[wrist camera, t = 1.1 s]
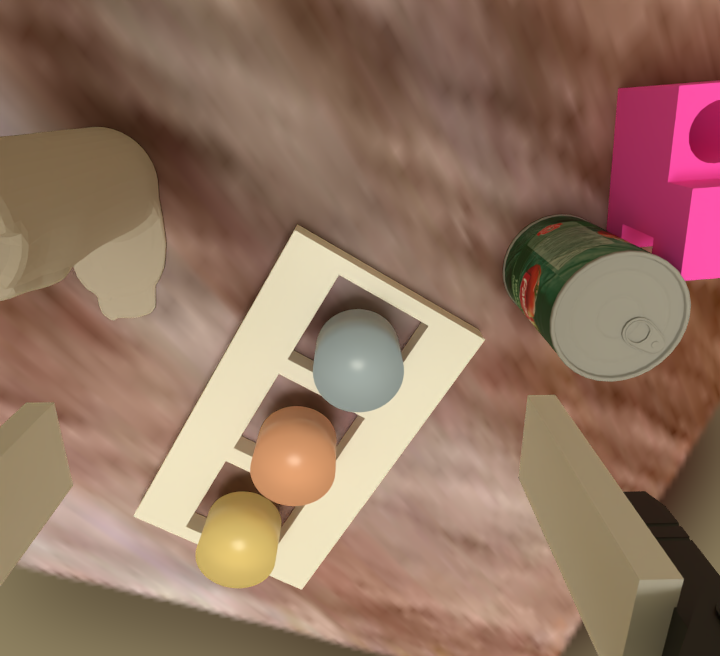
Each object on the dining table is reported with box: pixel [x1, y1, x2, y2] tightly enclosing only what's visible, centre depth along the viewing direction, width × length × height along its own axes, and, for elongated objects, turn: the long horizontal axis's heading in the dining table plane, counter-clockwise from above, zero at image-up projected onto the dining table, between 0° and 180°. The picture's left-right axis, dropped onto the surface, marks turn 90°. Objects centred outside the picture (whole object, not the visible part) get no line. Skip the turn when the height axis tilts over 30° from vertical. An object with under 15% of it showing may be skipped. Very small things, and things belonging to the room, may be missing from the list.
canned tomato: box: [503, 214, 691, 381], centre depth 38 cm, size 8×8×11 cm
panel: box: [134, 224, 485, 589], centre depth 46 cm, size 16×28×2 cm, turn 149°
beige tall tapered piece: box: [0, 127, 166, 321], centre depth 32 cm, size 7×14×20 cm, turn 1°
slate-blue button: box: [313, 309, 404, 412], centre depth 40 cm, size 6×6×4 cm
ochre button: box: [196, 491, 281, 588], centre depth 45 cm, size 6×6×4 cm
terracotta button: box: [250, 406, 337, 506], centre depth 42 cm, size 6×6×4 cm
